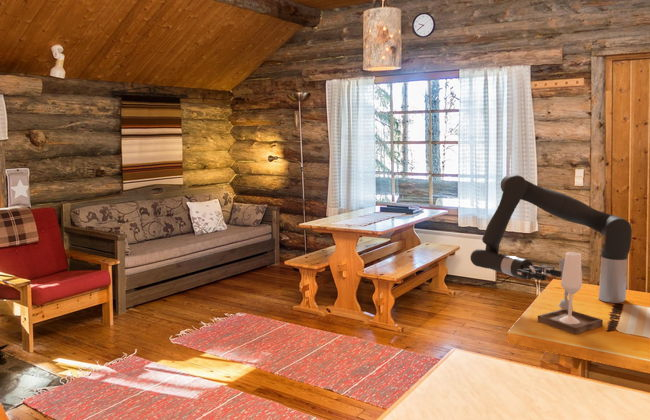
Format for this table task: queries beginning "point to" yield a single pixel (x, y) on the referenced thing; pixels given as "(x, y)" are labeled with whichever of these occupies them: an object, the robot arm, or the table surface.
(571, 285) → the champagne flute
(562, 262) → the chalice
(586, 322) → the tray
